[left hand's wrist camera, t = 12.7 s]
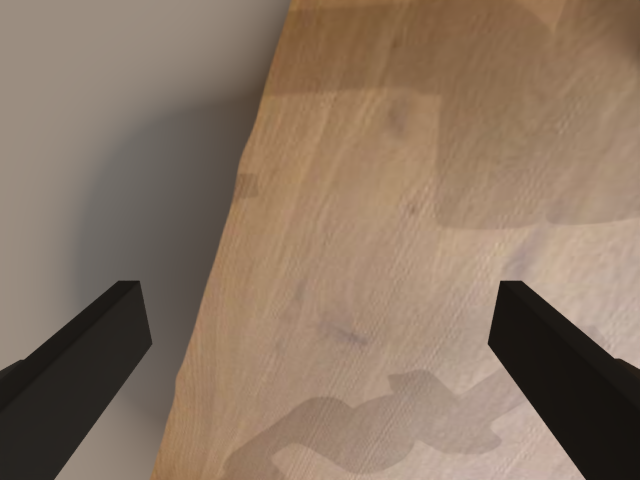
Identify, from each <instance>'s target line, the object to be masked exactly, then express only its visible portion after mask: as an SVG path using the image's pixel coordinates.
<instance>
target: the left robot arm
mask: <svg viewBox="0 0 640 480" xmlns="http://www.w3.org/2000/svg"><path fill="white" fill-rule="evenodd" d="M151 345H152V339H151V335H150V330H149V325H148V320H147V315H146V310H145V305H144V300H143V295H142V290H141V285H140V281H118V282H116V283H115V284H114V285H113V286H112V287H110V288H109V289H108V290H107V291H106V292H105V293H103V294H102V295H101V296H100V297H99V298H97V299H96V300H95V301H94V302H93V303H91V304H90V305H89V306H88V307H87V308H85V309H84V310H83V311H82V312H81V313H79V314H78V315H77V316H76V317H75V318H73V319H72V320H71V321H70V322H69V323H67V324H66V325H65V326H64V327H63V328H61V329H60V330H59V331H58V332H57V333H55V334H54V335H53V336H52V337H51V338H50V339H48V340H47V341H46V342H45V343H44V344H42V345H41V346H40V347H39V348H38V349H36V350H35V351H34V352H33V353H32V354H30V355H29V356H28V357H27V358H26V359H24V360H19V361H17V362H15V363H14V364H12V365H10V366H8V367H6V368H5V369H3V370H1V371H0V480H54V479H55V478H56V476H57V475H58V474H59V472H60V471H61V470H62V468H63V467H64V465H65V464H66V463H67V461H68V460H69V458H70V457H71V456H72V454H73V453H74V452H75V450H76V449H77V447H78V446H79V445H80V443H81V442H82V440H83V439H84V438H85V436H86V435H87V434H88V432H89V431H90V429H91V428H92V427H93V425H94V424H95V423H96V421H97V420H98V418H99V417H100V416H101V414H102V413H103V411H104V410H105V409H106V407H107V406H108V405H109V403H110V402H111V400H112V399H113V398H114V396H115V395H116V393H117V392H118V391H119V389H120V388H121V387H122V385H123V384H124V382H125V381H126V380H127V378H128V377H129V376H130V374H131V373H132V371H133V370H134V369H135V367H136V366H137V364H138V363H139V362H140V360H141V359H142V358H143V356H144V355H145V353H146V352H147V351H148V349H149V348H150V346H151ZM488 345H489V346H490V348H491V349H492V351H493V352H494V353H495V355H496V356H497V358H498V359H499V360H500V362H501V363H502V364H503V366H504V367H505V369H506V370H507V371H508V373H509V374H510V376H511V377H512V378H513V380H514V381H515V382H516V384H517V385H518V387H519V388H520V389H521V391H522V392H523V393H524V395H525V396H526V398H527V399H528V400H529V402H530V403H531V405H532V406H533V407H534V409H535V410H536V411H537V413H538V414H539V416H540V417H541V418H542V420H543V421H544V423H545V424H546V425H547V427H548V428H549V429H550V431H551V432H552V434H553V435H554V436H555V438H556V439H557V440H558V442H559V443H560V445H561V446H562V447H563V449H564V450H565V452H566V453H567V454H568V456H569V457H570V458H571V460H572V461H573V463H574V464H575V465H576V467H577V468H578V470H579V471H580V472H581V474H582V475H583V476H584V478H585V479H586V480H640V369H638V368H636V367H635V366H633V365H631V364H629V363H627V362H625V361H624V360H622V359H614V358H613V357H612V356H611V355H610V354H608V353H607V352H606V351H605V350H604V349H602V348H601V347H600V346H599V345H598V344H596V343H595V342H594V341H593V340H592V339H590V338H589V337H588V336H587V335H586V334H585V333H583V332H582V331H581V330H580V329H579V328H577V327H576V326H575V325H574V324H573V323H571V322H570V321H569V320H568V319H567V318H565V317H564V316H563V315H562V314H561V313H559V312H558V311H557V310H556V309H555V308H553V307H552V306H551V305H550V304H549V303H547V302H546V301H545V300H544V299H543V298H541V297H540V296H539V295H538V294H537V293H536V292H534V291H533V290H532V289H531V288H530V287H528V286H527V285H526V284H525V283H524V282H522V281H500V285H499V290H498V295H497V300H496V305H495V310H494V315H493V320H492V325H491V330H490V334H489V339H488Z"/></svg>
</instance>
